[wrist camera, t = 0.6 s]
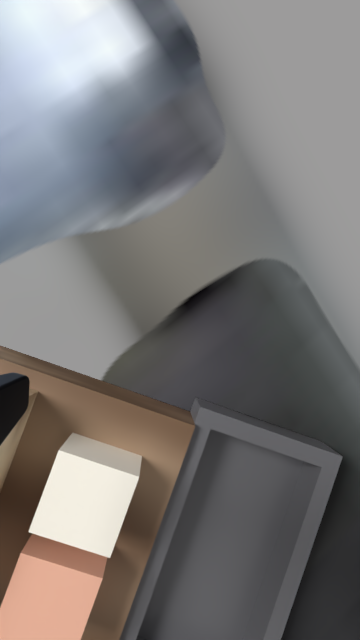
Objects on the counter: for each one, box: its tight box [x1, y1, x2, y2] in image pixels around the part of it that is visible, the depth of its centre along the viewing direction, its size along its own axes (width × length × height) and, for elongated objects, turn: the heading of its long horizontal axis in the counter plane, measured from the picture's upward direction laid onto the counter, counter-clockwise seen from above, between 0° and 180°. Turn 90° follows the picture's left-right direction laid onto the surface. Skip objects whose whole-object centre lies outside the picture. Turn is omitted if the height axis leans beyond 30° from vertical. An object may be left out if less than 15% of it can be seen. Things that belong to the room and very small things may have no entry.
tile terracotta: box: [0, 533, 107, 640], centre depth 16 cm, size 4×4×2 cm
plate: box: [0, 346, 195, 640], centre depth 19 cm, size 14×14×3 cm
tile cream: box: [29, 433, 142, 558], centre depth 17 cm, size 4×4×2 cm
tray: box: [119, 397, 343, 640], centre depth 20 cm, size 16×9×2 cm, turn 160°
